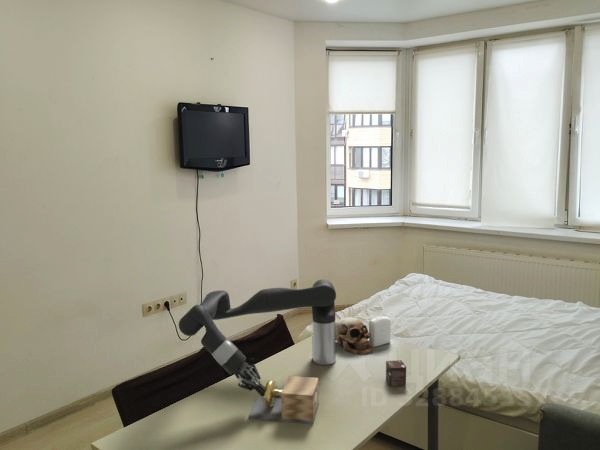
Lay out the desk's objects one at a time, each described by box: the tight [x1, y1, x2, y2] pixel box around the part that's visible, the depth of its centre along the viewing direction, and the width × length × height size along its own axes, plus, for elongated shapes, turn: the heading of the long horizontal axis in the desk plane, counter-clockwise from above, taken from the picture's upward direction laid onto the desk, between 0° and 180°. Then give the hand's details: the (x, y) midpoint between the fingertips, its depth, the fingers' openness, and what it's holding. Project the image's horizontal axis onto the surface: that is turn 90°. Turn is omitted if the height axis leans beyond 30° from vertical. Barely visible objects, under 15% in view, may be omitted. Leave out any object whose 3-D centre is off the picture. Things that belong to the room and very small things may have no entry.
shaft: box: [264, 379, 317, 406], centre depth 156 cm, size 16×8×8 cm, turn 79°
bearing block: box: [248, 375, 320, 425], centre depth 157 cm, size 21×12×10 cm, turn 79°
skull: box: [335, 316, 373, 355], centre depth 210 cm, size 16×17×13 cm
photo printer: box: [368, 315, 392, 348], centre depth 211 cm, size 10×4×12 cm, turn 120°
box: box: [385, 359, 407, 388], centre depth 176 cm, size 6×6×7 cm
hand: (265, 394), depth 158 cm, fingers closed
